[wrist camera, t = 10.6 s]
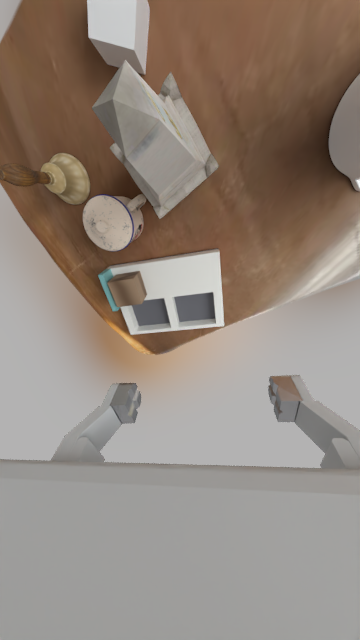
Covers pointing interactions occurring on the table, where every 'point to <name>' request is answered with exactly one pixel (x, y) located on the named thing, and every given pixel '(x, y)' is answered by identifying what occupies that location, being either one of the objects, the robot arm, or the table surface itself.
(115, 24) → the white cube
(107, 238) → the teacup with lid
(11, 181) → the hand bell
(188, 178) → the miniature monument
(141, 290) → the walnut block
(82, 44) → the table surface
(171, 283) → the board
